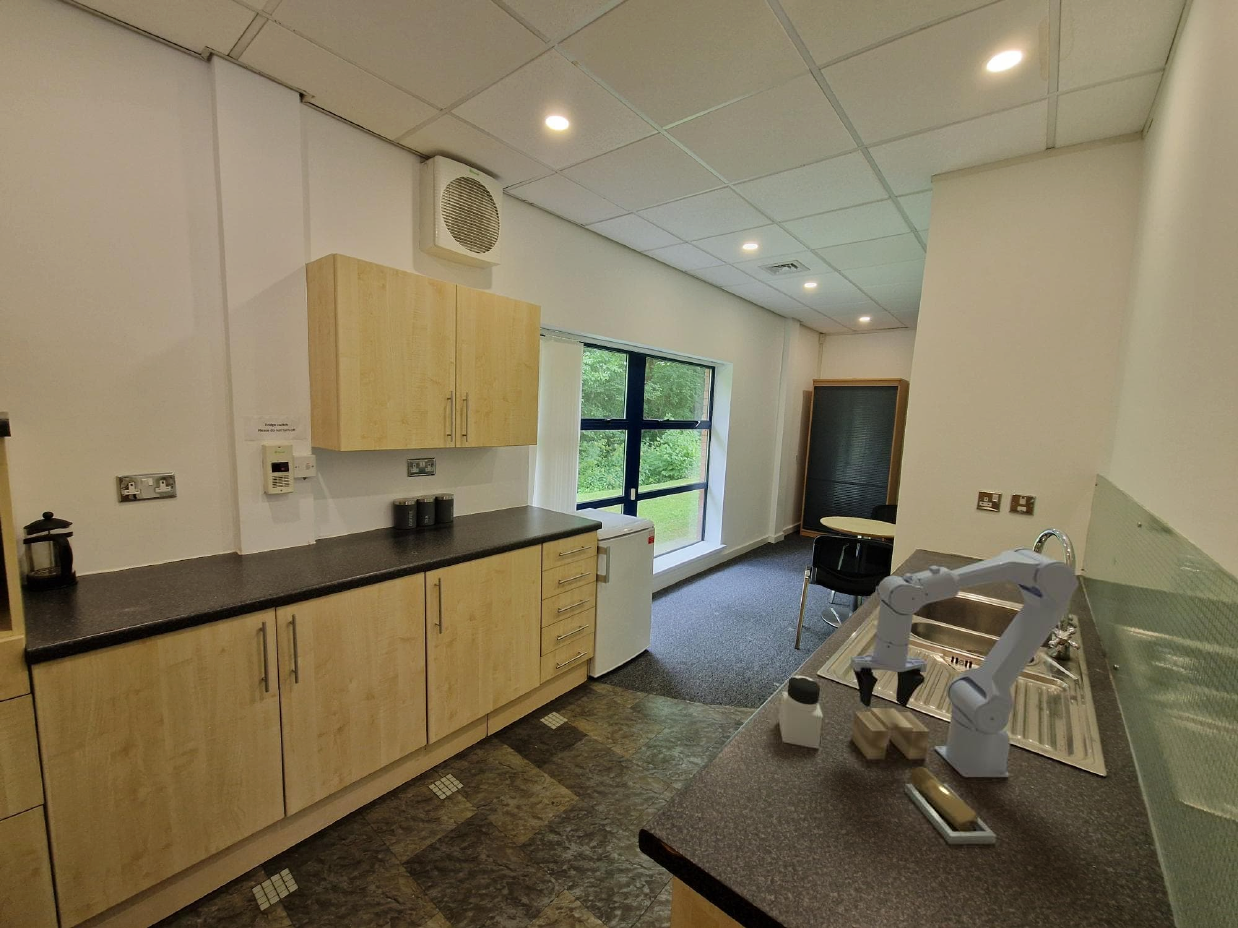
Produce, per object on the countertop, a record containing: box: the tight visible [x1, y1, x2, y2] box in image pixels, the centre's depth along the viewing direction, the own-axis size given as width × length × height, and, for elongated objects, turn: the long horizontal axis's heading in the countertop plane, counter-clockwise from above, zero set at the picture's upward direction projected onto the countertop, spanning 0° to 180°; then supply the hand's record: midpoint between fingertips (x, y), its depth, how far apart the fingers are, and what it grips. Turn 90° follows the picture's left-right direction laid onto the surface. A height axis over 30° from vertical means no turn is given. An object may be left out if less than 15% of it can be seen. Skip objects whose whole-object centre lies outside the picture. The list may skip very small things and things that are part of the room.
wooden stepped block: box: [850, 707, 930, 760], centre depth 100 cm, size 12×6×7 cm, turn 95°
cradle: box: [904, 783, 997, 845], centre depth 84 cm, size 8×11×1 cm
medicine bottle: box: [778, 675, 824, 750], centre depth 102 cm, size 7×7×12 cm
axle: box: [908, 766, 979, 832], centre depth 85 cm, size 10×4×4 cm, turn 13°
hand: (883, 703), depth 98 cm, fingers open, 7 cm apart
